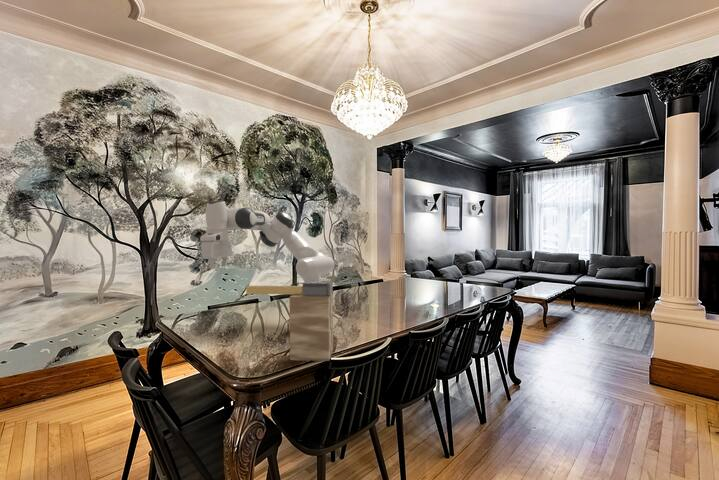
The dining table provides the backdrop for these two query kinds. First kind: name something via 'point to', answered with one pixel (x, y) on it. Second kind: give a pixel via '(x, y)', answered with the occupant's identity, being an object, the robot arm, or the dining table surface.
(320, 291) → the socket
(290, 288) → the bar
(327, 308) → the pedestal
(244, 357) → the dining table surface
